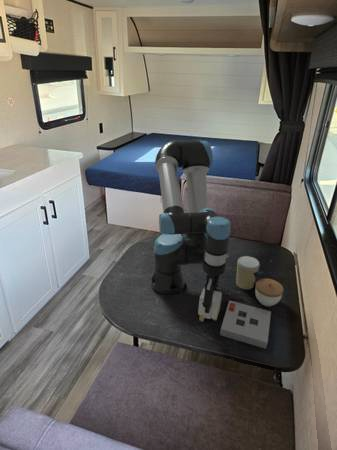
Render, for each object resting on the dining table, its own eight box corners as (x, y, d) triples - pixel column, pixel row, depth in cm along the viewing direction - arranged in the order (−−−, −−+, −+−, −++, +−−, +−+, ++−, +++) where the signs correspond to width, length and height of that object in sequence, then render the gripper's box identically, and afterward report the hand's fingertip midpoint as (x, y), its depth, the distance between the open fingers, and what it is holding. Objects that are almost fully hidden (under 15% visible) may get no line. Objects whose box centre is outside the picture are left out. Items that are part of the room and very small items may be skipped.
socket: (219, 334, 107) (221, 327, 105) (228, 306, 120) (229, 298, 118) (266, 349, 102) (268, 341, 100) (269, 317, 115) (271, 309, 113)
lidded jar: (259, 289, 130) (263, 271, 126) (283, 300, 124) (288, 282, 120) (248, 302, 122) (252, 283, 118) (273, 314, 116) (278, 295, 112)
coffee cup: (256, 292, 128) (260, 269, 123) (234, 289, 130) (237, 266, 124) (254, 279, 136) (259, 257, 131) (234, 276, 138) (237, 254, 132)
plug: (197, 320, 113) (199, 297, 108) (201, 309, 118) (203, 287, 113) (215, 325, 111) (218, 303, 106) (219, 314, 116) (222, 292, 111)
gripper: (219, 279, 93) (212, 332, 104) (230, 249, 109) (224, 298, 120) (196, 273, 96) (192, 326, 106) (211, 245, 112) (205, 293, 122)
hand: (209, 311), depth 113 cm, fingers closed on plug, 6 cm apart
